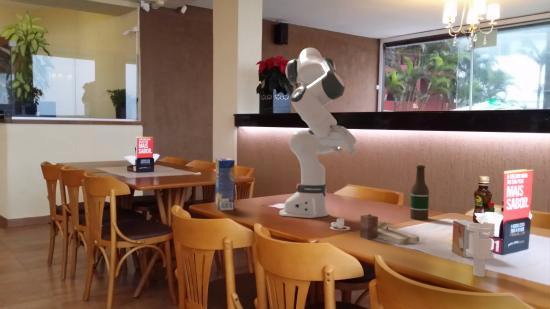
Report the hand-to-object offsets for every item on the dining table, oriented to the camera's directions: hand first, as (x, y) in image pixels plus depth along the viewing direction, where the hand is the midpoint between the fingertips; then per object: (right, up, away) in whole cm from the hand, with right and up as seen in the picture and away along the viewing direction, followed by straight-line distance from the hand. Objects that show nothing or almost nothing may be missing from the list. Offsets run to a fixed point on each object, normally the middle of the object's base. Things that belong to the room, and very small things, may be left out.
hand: (346, 152), depth 175 cm
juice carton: (-51, -27, +60) cm, 84 cm away
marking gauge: (+11, -31, +2) cm, 33 cm away
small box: (+35, -33, -21) cm, 53 cm away
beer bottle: (+38, -30, +39) cm, 62 cm away
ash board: (+17, -32, 0) cm, 36 cm away
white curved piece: (+2, -31, +19) cm, 36 cm away
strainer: (+30, -34, -43) cm, 63 cm away
